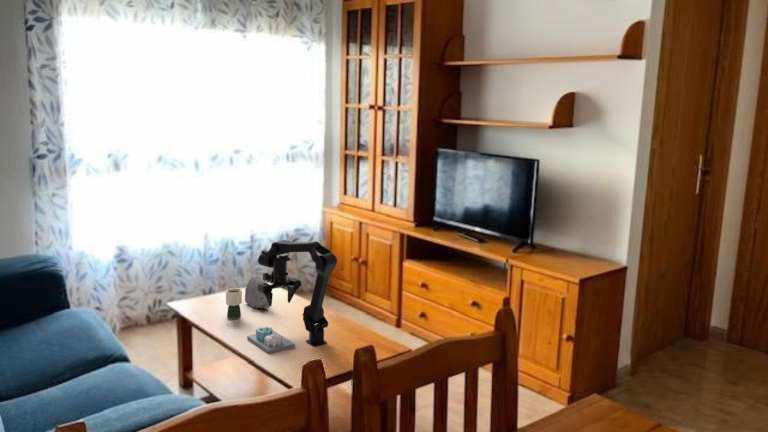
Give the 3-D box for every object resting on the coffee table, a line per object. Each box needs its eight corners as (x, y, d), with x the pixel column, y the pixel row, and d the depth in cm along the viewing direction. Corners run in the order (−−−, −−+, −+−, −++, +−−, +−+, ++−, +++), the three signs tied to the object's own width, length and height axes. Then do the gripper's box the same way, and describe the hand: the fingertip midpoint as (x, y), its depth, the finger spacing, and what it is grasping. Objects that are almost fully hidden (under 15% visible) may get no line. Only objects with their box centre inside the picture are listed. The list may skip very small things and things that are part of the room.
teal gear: (275, 338, 270) (275, 330, 270) (261, 341, 266) (261, 333, 265) (267, 333, 275) (267, 325, 275) (253, 336, 271) (253, 328, 270)
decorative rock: (243, 303, 315) (243, 273, 312) (255, 300, 319) (255, 271, 316) (260, 313, 303) (260, 282, 300) (272, 310, 307) (272, 280, 304)
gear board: (294, 347, 266) (294, 333, 265) (268, 353, 258) (268, 339, 257) (272, 333, 279) (272, 320, 278) (247, 339, 272) (247, 325, 271)
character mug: (246, 319, 293) (246, 292, 291) (231, 322, 289) (231, 295, 287) (236, 312, 302) (236, 285, 299) (221, 315, 298) (221, 288, 295)
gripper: (288, 262, 289) (288, 295, 292) (251, 268, 277) (251, 303, 280) (302, 268, 281) (301, 302, 284) (264, 274, 269) (263, 310, 272)
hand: (279, 304), depth 280 cm, fingers open, 9 cm apart
